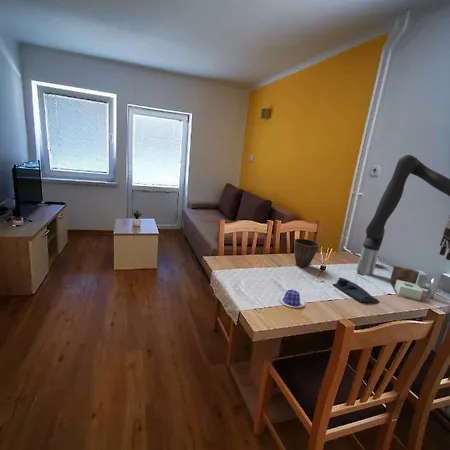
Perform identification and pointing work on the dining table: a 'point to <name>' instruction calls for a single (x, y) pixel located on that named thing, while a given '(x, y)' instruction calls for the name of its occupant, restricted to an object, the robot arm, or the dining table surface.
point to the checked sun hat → (292, 299)
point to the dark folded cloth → (354, 291)
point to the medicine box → (421, 279)
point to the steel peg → (432, 288)
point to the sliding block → (408, 289)
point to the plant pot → (304, 252)
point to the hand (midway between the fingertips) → (444, 257)
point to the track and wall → (404, 279)
